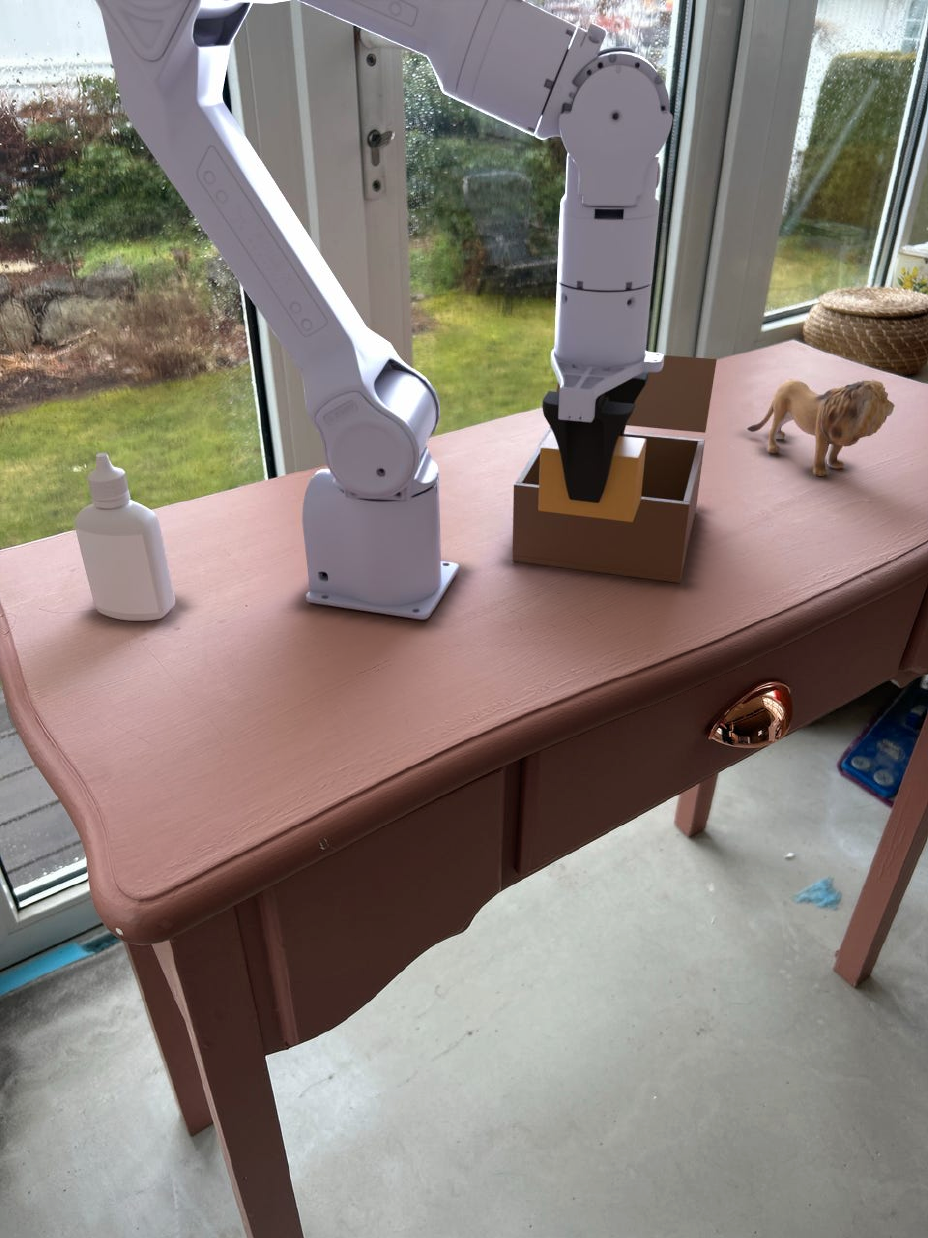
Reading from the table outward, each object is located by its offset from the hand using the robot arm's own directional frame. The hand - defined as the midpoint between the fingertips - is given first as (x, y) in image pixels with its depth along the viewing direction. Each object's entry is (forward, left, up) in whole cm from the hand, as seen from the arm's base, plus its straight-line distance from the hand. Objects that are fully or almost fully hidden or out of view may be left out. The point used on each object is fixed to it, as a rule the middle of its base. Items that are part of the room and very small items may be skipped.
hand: (590, 487), depth 65 cm
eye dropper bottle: (-31, -10, -9) cm, 34 cm away
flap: (0, +19, +1) cm, 19 cm away
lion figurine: (+16, +32, -9) cm, 37 cm away
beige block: (0, 0, -1) cm, 1 cm away
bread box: (0, +11, -9) cm, 14 cm away
